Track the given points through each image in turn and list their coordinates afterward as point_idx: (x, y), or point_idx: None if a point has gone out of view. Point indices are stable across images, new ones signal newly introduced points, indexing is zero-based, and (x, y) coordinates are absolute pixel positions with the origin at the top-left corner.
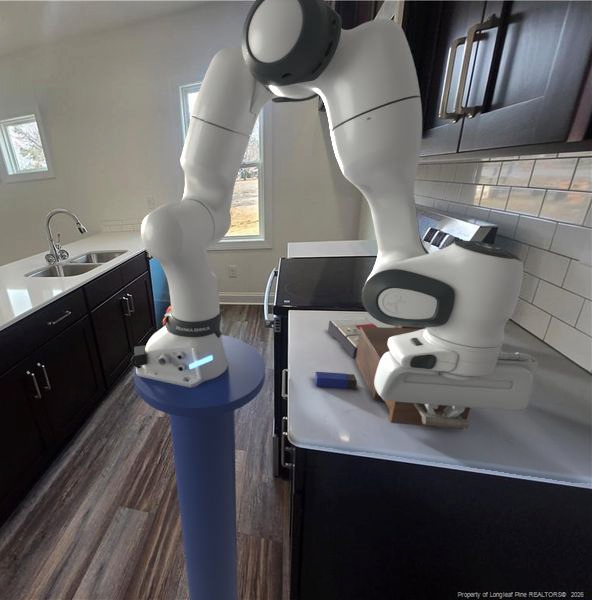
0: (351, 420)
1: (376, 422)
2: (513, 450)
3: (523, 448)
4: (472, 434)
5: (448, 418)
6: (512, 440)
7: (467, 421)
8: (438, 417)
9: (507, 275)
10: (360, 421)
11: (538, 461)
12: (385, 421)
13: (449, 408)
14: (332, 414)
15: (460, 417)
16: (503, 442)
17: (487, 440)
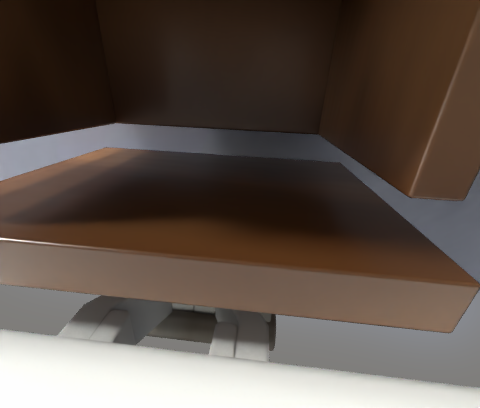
0: (9, 144)
1: (82, 147)
2: (429, 233)
3: (469, 225)
4: (363, 179)
5: (201, 339)
6: (473, 197)
7: (271, 349)
8: (165, 331)
9: None
10: (35, 146)
11: (457, 263)
12: (110, 139)
13: (226, 314)
14: None
15: (266, 316)
16: (432, 206)
17: (389, 201)
